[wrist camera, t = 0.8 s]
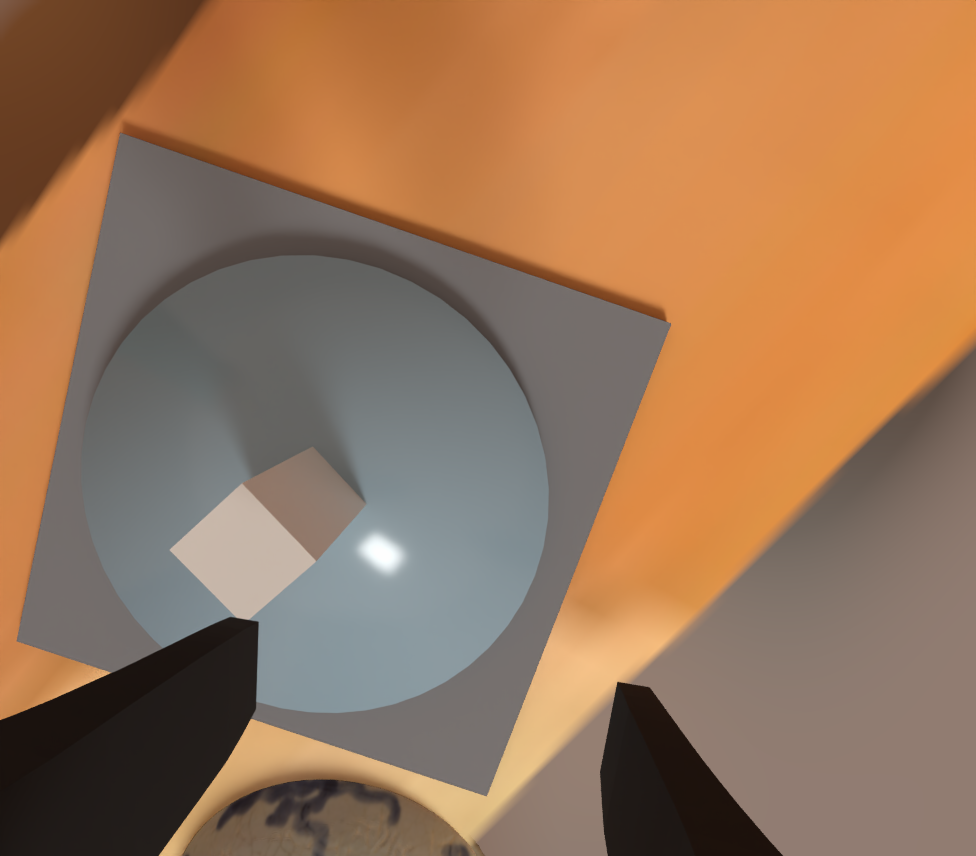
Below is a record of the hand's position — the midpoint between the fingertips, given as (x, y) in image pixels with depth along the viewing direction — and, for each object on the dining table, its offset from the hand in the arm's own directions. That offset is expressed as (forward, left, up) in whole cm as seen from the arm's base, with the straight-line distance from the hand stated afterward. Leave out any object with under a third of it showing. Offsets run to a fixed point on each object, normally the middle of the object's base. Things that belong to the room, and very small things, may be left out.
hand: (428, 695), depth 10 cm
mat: (-6, -1, -10) cm, 11 cm away
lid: (-6, -1, -10) cm, 11 cm away
